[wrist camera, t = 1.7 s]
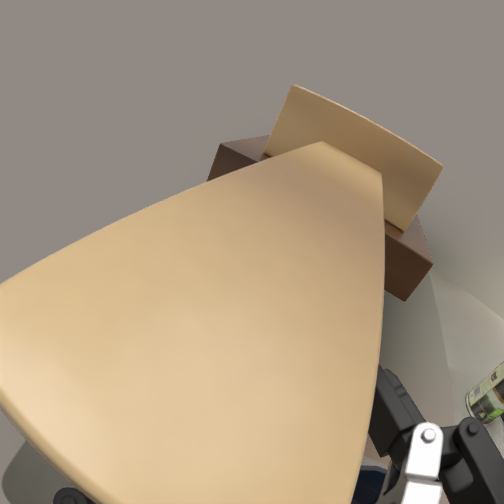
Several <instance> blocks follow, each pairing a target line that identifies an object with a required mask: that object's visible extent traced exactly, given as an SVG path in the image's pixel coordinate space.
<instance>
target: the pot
mask: <svg viewBox="0 0 504 504" xmlns="http://www.w3.org/2000/svg"><path fill="white" fill-rule="evenodd" d="M386 473H387V470H386V469H383V468H381V467H378V466H362V465H361V466H360V471H359V475H358V479H357V482H356V486H355V490H354V494H353V497H352V501H351V504H375V503H376V502H377V500H378V498H379V496H380V493H381V490H382V486H383V483H384V480H385V477H386Z"/></svg>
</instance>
